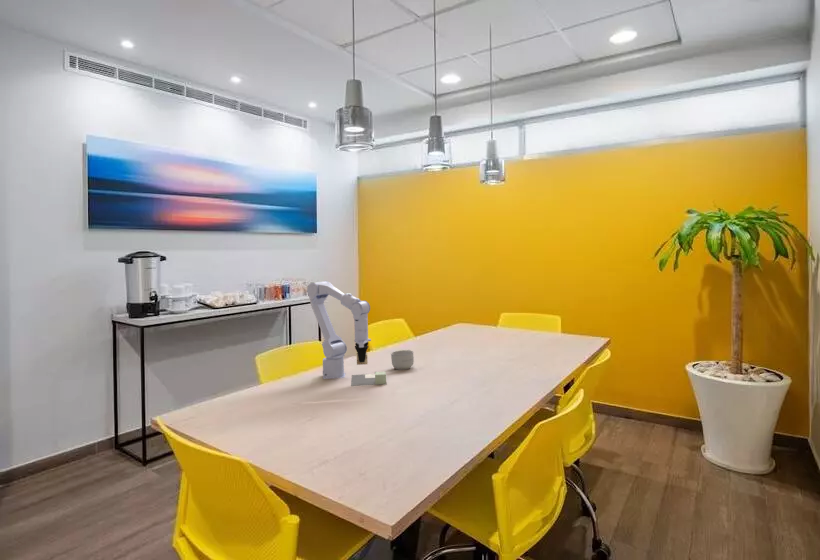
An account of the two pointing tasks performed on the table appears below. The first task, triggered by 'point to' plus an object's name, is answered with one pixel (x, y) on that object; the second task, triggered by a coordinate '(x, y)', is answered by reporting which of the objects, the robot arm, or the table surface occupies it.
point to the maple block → (362, 362)
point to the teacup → (402, 359)
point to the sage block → (380, 377)
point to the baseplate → (363, 380)
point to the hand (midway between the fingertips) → (362, 360)
